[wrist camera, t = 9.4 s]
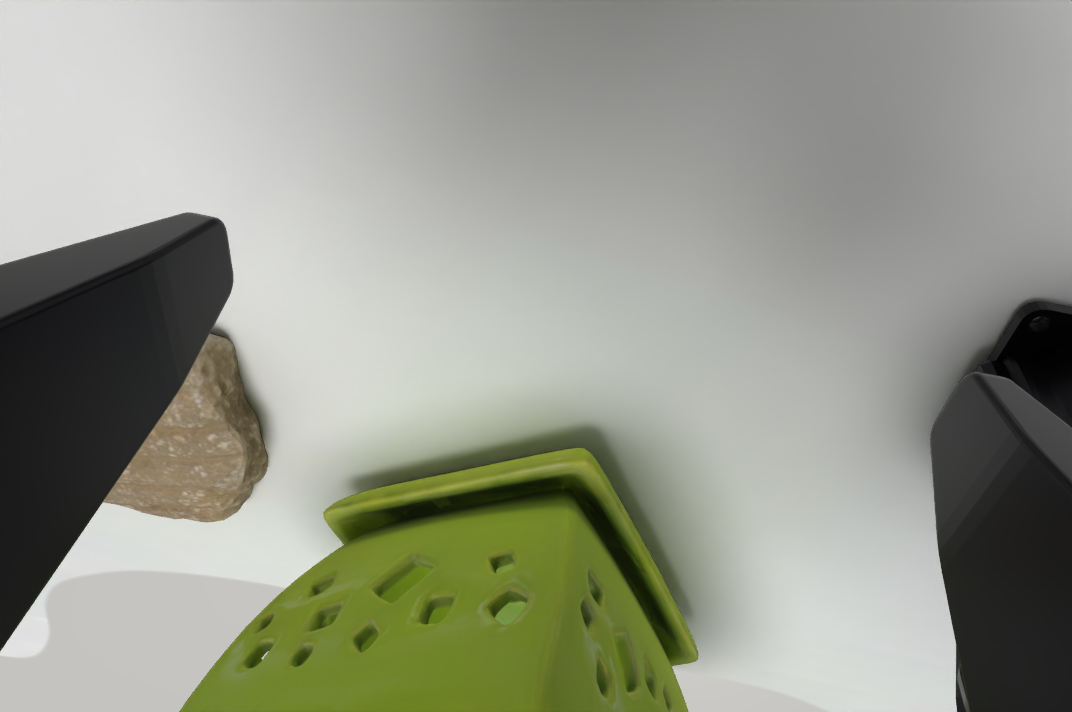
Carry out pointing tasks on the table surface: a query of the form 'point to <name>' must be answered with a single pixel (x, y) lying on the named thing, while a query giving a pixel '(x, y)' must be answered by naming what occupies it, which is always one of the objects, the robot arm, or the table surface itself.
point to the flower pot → (468, 605)
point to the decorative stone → (198, 447)
